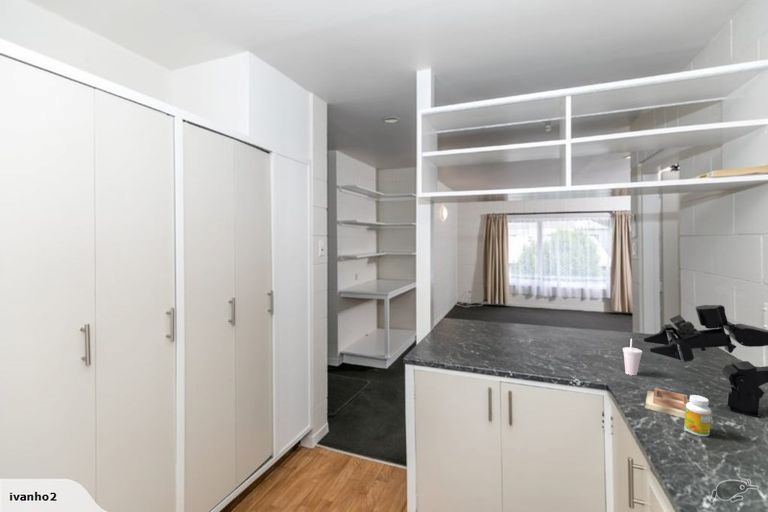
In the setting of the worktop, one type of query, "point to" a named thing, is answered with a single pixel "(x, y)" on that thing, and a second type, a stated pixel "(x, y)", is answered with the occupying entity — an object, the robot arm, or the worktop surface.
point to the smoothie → (631, 359)
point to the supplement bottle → (698, 416)
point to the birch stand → (667, 402)
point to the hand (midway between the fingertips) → (646, 345)
